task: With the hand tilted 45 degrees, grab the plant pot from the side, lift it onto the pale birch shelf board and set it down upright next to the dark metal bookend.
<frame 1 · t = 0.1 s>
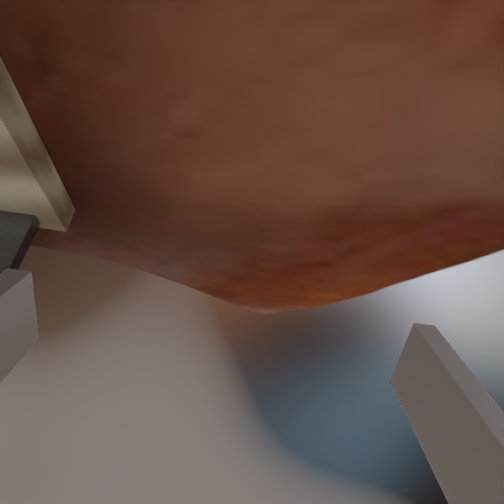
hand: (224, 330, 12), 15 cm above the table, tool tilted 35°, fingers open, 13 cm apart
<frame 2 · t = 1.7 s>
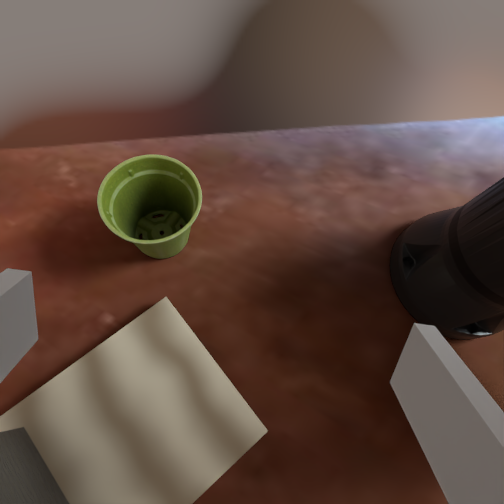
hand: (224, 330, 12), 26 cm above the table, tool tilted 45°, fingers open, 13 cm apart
shelf board: (138, 424, 34), on the table
bookend: (53, 493, 29), resting on shelf board
plant pot: (162, 234, 41), on the table
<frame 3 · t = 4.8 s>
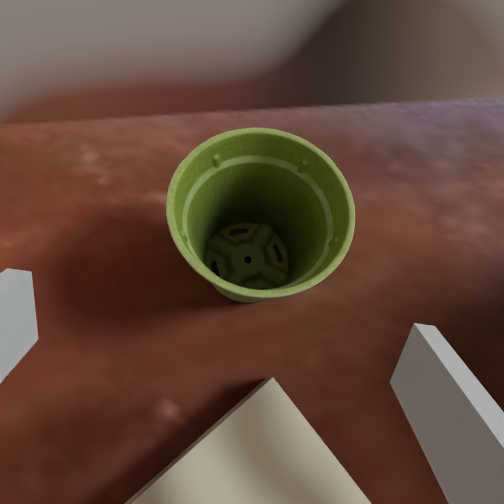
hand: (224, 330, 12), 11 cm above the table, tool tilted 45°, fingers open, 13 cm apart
plant pot: (246, 261, 26), on the table
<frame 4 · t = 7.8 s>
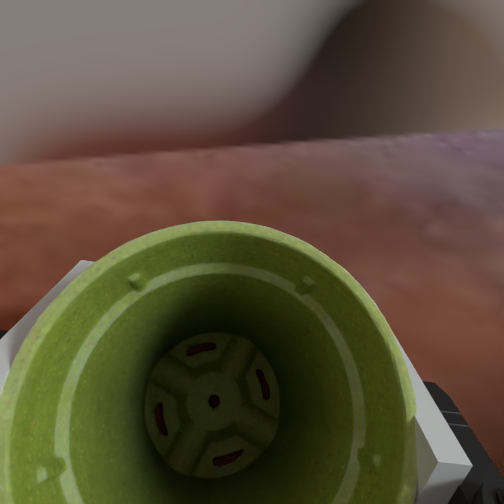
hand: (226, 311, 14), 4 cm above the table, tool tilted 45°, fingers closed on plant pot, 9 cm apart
plant pot: (213, 398, 16), on the table, touching gripper
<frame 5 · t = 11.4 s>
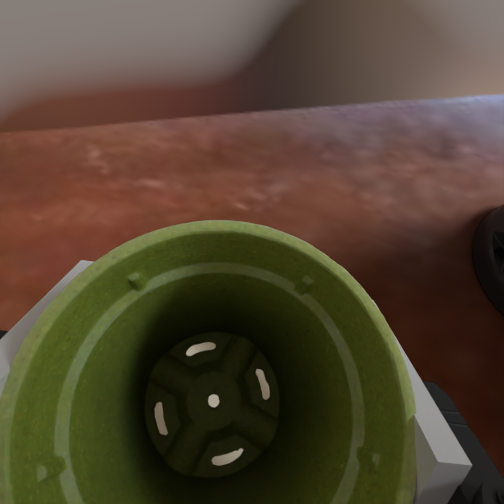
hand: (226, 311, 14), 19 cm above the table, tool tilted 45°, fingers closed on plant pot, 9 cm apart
shelf board: (202, 454, 28), on the table
plant pot: (212, 397, 16), point 15 cm above the table, touching gripper
when the fingers open (7 cm above the table, at t = 15.1 s): plant pot stays where it is, resting on shelf board.
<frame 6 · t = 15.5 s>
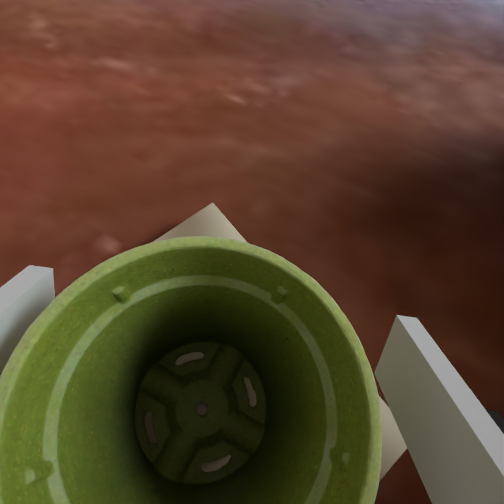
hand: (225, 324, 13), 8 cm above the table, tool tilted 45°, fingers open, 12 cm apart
shelf board: (168, 428, 18), on the table
plant pot: (201, 405, 17), point 2 cm above the table, touching shelf board
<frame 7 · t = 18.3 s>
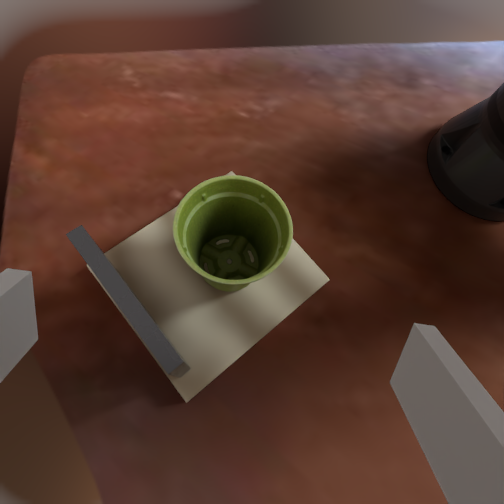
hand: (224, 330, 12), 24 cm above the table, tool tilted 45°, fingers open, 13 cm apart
shelf board: (211, 279, 38), on the table
bookend: (146, 320, 33), resting on shelf board
plant pot: (228, 262, 36), point 2 cm above the table, touching shelf board
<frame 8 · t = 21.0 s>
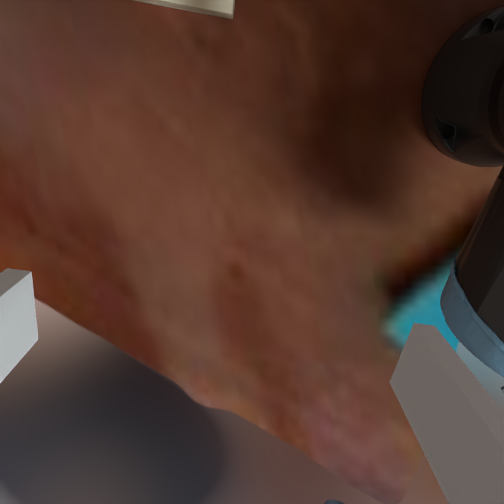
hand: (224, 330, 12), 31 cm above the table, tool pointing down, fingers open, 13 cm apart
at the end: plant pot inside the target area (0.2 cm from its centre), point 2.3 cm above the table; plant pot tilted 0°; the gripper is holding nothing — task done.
